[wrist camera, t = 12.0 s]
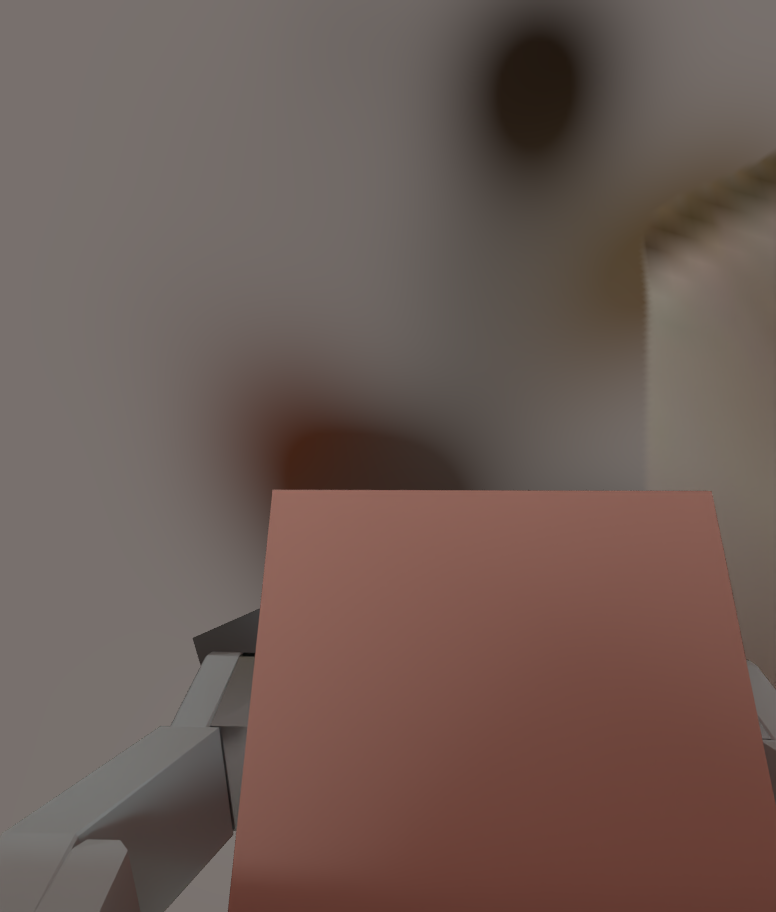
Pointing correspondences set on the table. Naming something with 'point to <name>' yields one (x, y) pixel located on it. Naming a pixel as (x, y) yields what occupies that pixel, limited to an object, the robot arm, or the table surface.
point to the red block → (501, 709)
